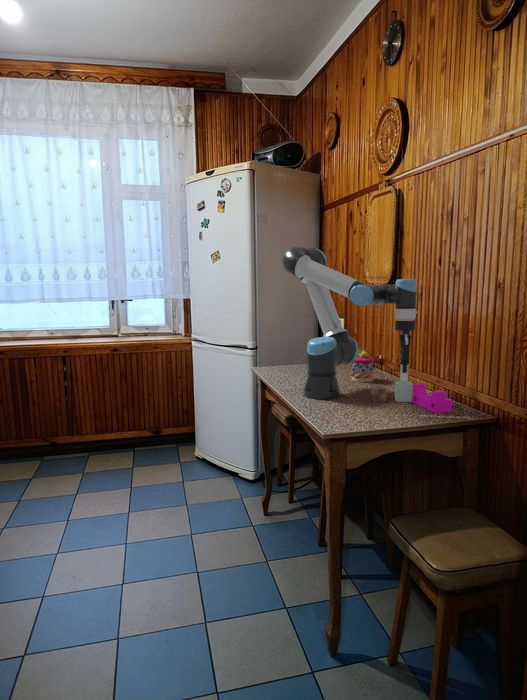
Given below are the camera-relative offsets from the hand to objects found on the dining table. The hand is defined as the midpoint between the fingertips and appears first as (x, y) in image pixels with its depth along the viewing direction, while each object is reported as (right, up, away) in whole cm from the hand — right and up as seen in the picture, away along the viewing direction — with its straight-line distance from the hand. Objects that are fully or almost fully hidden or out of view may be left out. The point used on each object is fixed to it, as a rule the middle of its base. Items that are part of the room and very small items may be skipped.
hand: (404, 380), depth 181 cm
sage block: (0, -8, +1) cm, 8 cm away
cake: (-8, -3, +37) cm, 38 cm away
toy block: (+7, -9, -10) cm, 15 cm away
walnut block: (-9, -8, +2) cm, 12 cm away
